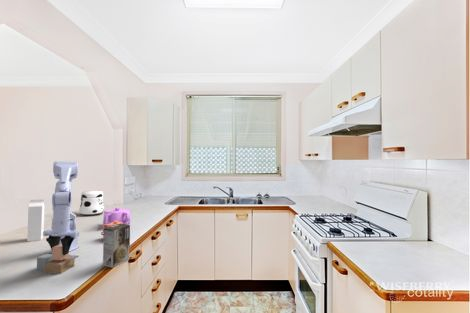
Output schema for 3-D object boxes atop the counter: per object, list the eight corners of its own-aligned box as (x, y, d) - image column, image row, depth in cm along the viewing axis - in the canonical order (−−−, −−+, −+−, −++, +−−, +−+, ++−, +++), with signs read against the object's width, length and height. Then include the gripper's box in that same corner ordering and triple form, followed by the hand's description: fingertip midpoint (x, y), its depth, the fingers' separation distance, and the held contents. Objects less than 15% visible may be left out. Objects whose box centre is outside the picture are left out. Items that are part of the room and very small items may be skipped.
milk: (30, 238, 136) (31, 199, 137) (43, 237, 139) (44, 198, 139) (27, 241, 131) (28, 200, 131) (41, 240, 134) (42, 200, 134)
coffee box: (119, 257, 113) (120, 222, 113) (129, 260, 110) (130, 224, 110) (101, 265, 104) (103, 227, 104) (112, 268, 102) (113, 229, 102)
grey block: (45, 265, 103) (45, 253, 103) (53, 266, 103) (54, 254, 103) (36, 269, 99) (37, 257, 99) (45, 270, 99) (46, 258, 99)
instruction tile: (66, 255, 114) (66, 254, 114) (78, 256, 113) (78, 255, 113) (52, 262, 106) (52, 261, 106) (65, 263, 105) (65, 262, 105)
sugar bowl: (122, 242, 133) (122, 223, 134) (95, 242, 132) (96, 223, 133) (130, 235, 146) (130, 218, 146) (106, 235, 145) (106, 218, 145)
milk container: (108, 213, 200) (109, 192, 200) (86, 217, 185) (86, 194, 185) (96, 211, 209) (97, 190, 209) (75, 214, 194) (75, 192, 194)
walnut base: (59, 264, 104) (59, 256, 104) (74, 265, 103) (74, 257, 103) (44, 272, 97) (45, 263, 97) (60, 273, 96) (61, 264, 96)
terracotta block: (60, 255, 102) (60, 243, 102) (68, 256, 102) (69, 244, 102) (52, 259, 98) (52, 247, 99) (61, 260, 98) (61, 247, 98)
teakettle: (102, 230, 154) (103, 211, 154) (103, 223, 169) (103, 206, 170) (131, 227, 162) (132, 209, 162) (129, 221, 177) (130, 204, 177)
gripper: (36, 222, 97) (35, 256, 97) (70, 224, 96) (69, 258, 95) (51, 218, 104) (50, 250, 104) (83, 219, 103) (82, 252, 103)
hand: (60, 253), depth 100 cm, fingers closed on terracotta block, 4 cm apart
